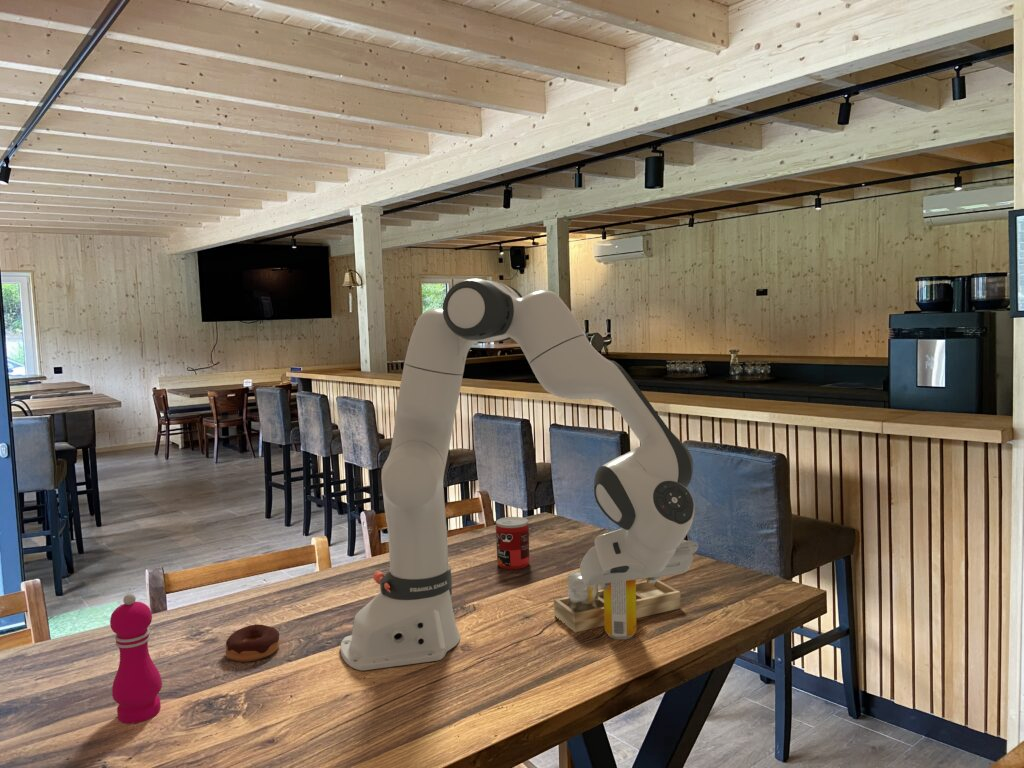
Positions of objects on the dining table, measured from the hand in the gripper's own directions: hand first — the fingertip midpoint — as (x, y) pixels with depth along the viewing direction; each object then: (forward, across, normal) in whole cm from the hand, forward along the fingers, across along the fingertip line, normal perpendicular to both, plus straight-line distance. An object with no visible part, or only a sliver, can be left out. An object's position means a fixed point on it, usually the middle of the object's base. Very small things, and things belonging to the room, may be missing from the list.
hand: (626, 582), depth 143 cm
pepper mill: (+8, +85, +9) cm, 85 cm away
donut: (+20, +68, -4) cm, 72 cm away
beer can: (+11, 0, +6) cm, 12 cm away
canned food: (+42, +10, -26) cm, 51 cm away
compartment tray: (+17, -3, -1) cm, 18 cm away
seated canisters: (+15, +1, -2) cm, 16 cm away
